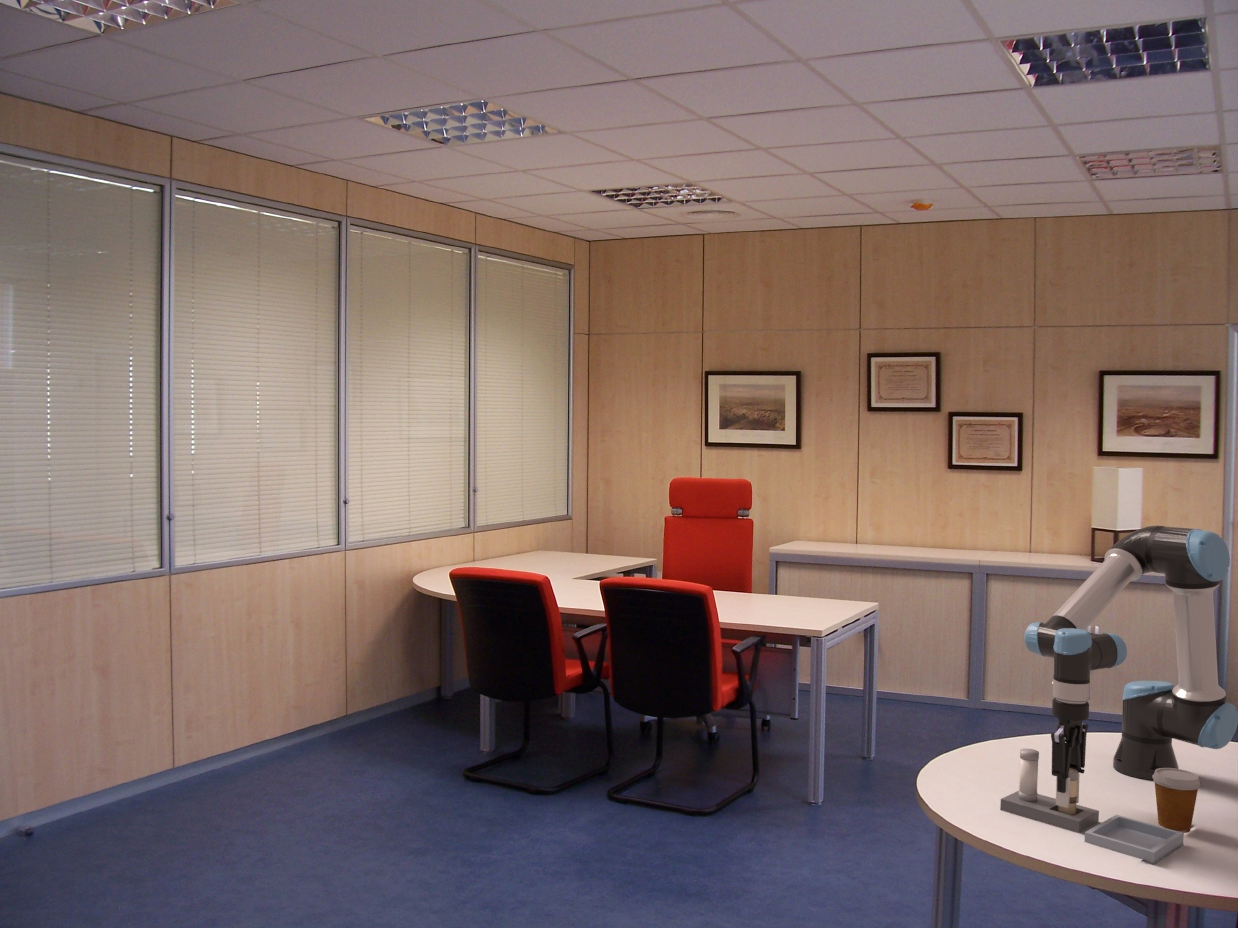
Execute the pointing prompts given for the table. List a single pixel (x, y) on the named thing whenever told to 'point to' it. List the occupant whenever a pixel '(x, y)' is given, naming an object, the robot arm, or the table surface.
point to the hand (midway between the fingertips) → (1067, 803)
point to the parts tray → (1135, 838)
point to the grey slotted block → (1043, 800)
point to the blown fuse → (1071, 794)
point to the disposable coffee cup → (1175, 797)
